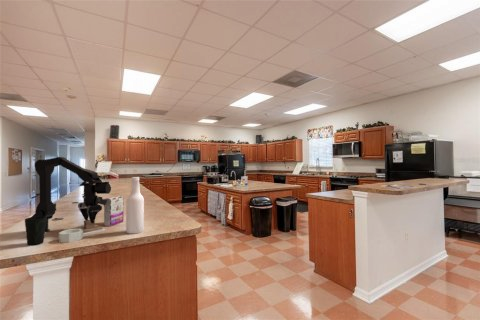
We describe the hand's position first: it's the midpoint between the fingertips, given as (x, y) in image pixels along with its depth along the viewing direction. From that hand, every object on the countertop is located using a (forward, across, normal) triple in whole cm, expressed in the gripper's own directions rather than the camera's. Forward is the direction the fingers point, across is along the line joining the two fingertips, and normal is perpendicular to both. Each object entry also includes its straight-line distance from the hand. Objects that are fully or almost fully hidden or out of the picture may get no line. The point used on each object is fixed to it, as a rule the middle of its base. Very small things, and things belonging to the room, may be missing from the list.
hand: (89, 221), depth 126 cm
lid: (+4, 0, 0) cm, 4 cm away
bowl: (+5, -10, +11) cm, 16 cm away
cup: (+5, -4, +23) cm, 24 cm away
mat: (+5, 0, 0) cm, 5 cm away
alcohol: (+5, -22, -15) cm, 27 cm away
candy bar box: (+5, +5, -15) cm, 17 cm away
